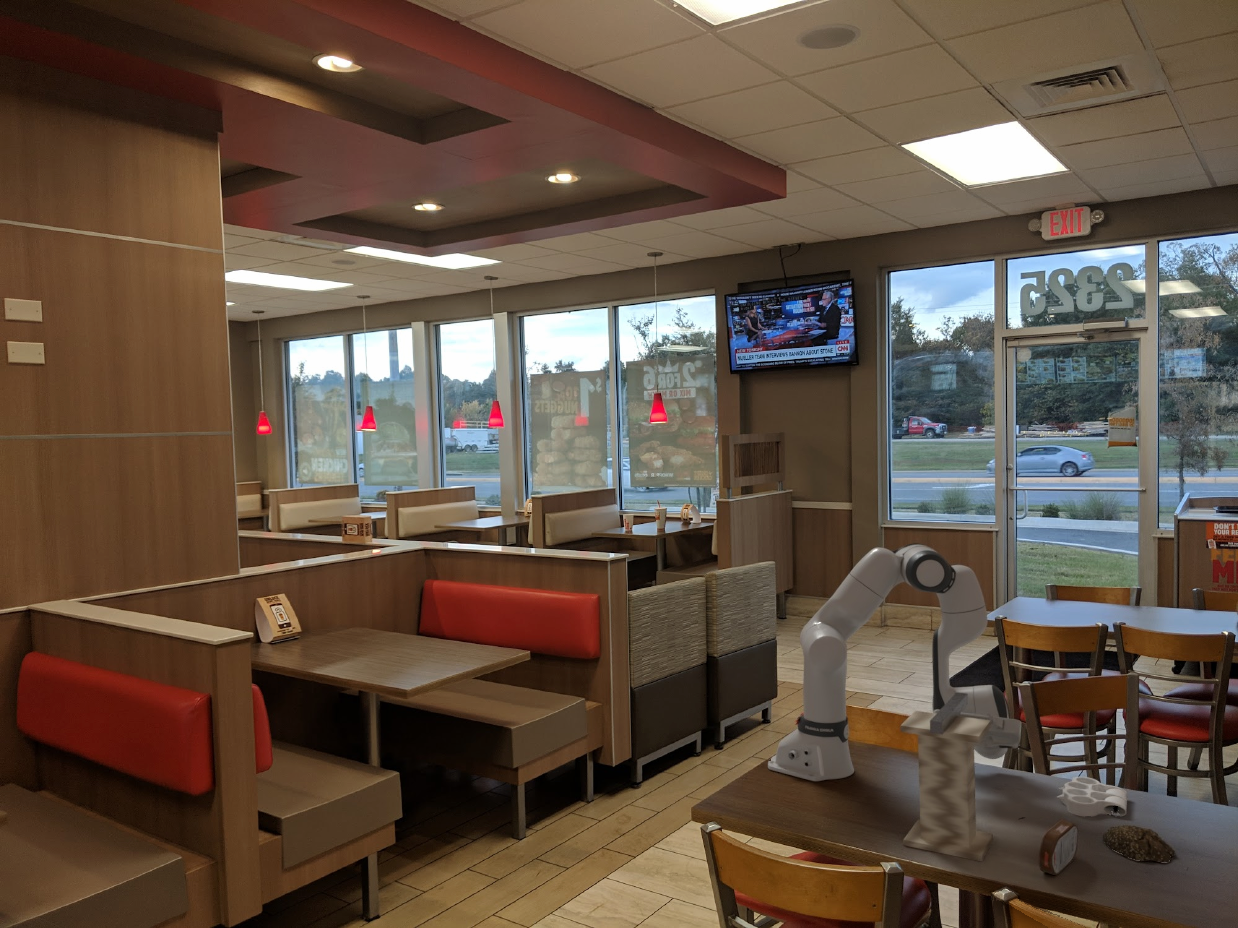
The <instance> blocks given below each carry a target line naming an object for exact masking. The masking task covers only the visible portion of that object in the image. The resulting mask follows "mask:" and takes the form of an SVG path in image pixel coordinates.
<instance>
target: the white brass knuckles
mask: <svg viewBox="0 0 1238 928" xmlns="http://www.w3.org/2000/svg"><path fill="white" fill-rule="evenodd" d="M1058 790H1059V791H1061V792H1062V793H1061V794H1060V795H1057V796H1056V798H1057V799H1059V800H1060V801H1062V803H1063V804H1064V806H1066V807H1067V812H1069V813H1071V814H1072V815H1075V816H1079V817H1085V816H1091V817H1096V816H1098V815H1107V814H1109V816H1111V814H1112V812H1111V811H1114V812H1115V809H1113V808H1115V806H1118V807H1117V810H1119V811H1118V813H1119V814H1120V815H1117V816H1120V817H1123V816H1126V815H1127V806H1128V792H1127V791H1126V790H1125V789H1124V788H1121V787H1118V786H1114V785H1111V784H1104V783H1102V782H1100V781H1098V780H1097V779H1095V778H1091V777H1088V776H1074V777H1071V781H1067V782H1065V783H1064V784H1063V787H1058ZM1113 806H1114V807H1113ZM1114 812H1113V814H1114ZM1117 816H1116V817H1117Z"/></svg>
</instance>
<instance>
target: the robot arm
mask: <svg viewBox="0 0 1238 928" xmlns="http://www.w3.org/2000/svg"><path fill="white" fill-rule="evenodd" d="M901 583H906V584H907V585H909V586H910V587H912V588H914V589H915V590H917V591H920V592H923V593H934V594H936V596H937V598H938V601H939V608H940V613H941V622H940V626H939V627H937V628H936V629H935V630H934V632H933V636H932V641H931V643H932V646H931V647H932V648H931V649H932V650H931V651H932V653H931V654H932V702H931V710H932V713H938V712H939V711H940V709H941V708H942V707H943V706H944V705H945V704H946V703H947V702H948V701H949V700H950V699H951V698H952V697H953V695H954V694H955V693H956V692H958V693H967V694H968V705H967V706H966V707H965V709H964V710H963V711H962V712H961V713H960V714H959V716H960V717H968V718H976V719H983V720H991V727H990V728H989V730H988V731H987V733H986V734H985V735H984V737H983V738H982V740H981V741H980V742H979V743H974V752H976V753H977V754H979V756H981V757H983V758H985V759H989V760H996V759H1000V758H1002V757H1004V756H1005V755H1006V754H1007V751H1008V749H1017V748H1019V743H1020V742H1021V735H1022V721H1021V720H1019V719H1016V718H1011V715H1010V707H1009V705H1008V704H1009V703H1008V701H1007V699H1006V697H1005V695H1004V692H1002V690H1001V689H999V687H997V686H996V685H994V684H987V685H986V684H984V685H974V686H961V687H960V686H959V687H953V686H951V684H950V656H951V654H952V653H954V652H955V651H956V650H958V649H960V648H962V647H964V646H966V645H969V644H970V643H973V642H974V641H976V640H977V639H978V638H980V637H981V635H983V633H984V632H985V631H986V629H987V626H988V623H989V622H988V612H987V607H986V602H985V598H984V597H985V596H984V594H983V590H982V589H981V585H980V582H979V580H978V577H977V575H976V573H975V571H973V569H972V568H970V567H969V566H966V565H963V564H955V565H954V564H953V565H951V564H950V563H949V562H948V561H947V560H946V558H945V557H944V556H942V554H940V553H939V552H938V551H936V550H935V549H934V548H932V547H930V546H928V545H925V544H922V543H918V542H917V543H916V542H915V543H909V544H906V545H903V546H901V547H899V548H897V549H895V550H890V549H888V548H885V547H874V548H872V549H870V550H869V551H868V552H867V553H866V554H865V555H864V556H863V557H862V558H861V559H860V560H859V561H858V562H857V563H856V564H855V566H854V567H853V568H852V570H851V571H850V572H849V573H848V575H847V576H846V577H845V578H844V580H843V581H842V582H841V584H840V585H839V586H838V587H837V588H836V590H835V591H834V593H833V594H832V595H831V596H830V598H829V599H828V600H827V601H826V602H825V603H824V604H823V605H822V606H821V607H820V608H819V609H818V610H817V612H816V613H815V614H814V615H813V616H812V617H811V618H810V620H809V621H808V622H806V624H805V625H804V626H803V627H802V630H801V631H800V636H799V642H800V646H801V650H802V654H803V682H802V696H803V697H802V699H803V700H802V703H803V705H802V706H803V711H802V712H801V713H800V714H799V715H800V716H798V717H797V718H796V720H795V721H794V722H795V724H794V725H795V726H796V725H797V728H796V729H794V730H793V731H791V732H790V733H789V734H787V735H786V736H785V737H784V738H782V739H781V740H780V741H779V743H778V745H777V749H776V753H775V755H773V756H772V757H771V758H770V759H771V761H769V760H768V762H767V768H768V770H770V771H774V772H777V773H778V772H779V773H781V774H784V775H785V774H786V775H790V776H793V777H796V778H801V779H805V780H808V781H811V782H821V781H825V780H837V779H838V780H839V779H843V778H847V777H849V776H850V777H851V775H853V774H854V772H855V768H854V765H853V763H852V762H853V761H852V759H851V753H850V748H849V741H848V740H849V736H850V728H849V727H850V725H849V718H848V716H847V702H846V701H847V700H846V699H847V698H846V697H847V694H846V692H847V691H846V690H847V689H846V688H847V686H846V685H847V673H848V671H847V670H848V646H847V642H848V640H849V639H850V638H852V636H853V635H854V634H855V633H857V631H858V630H859V629H860V628H862V626H864V625H866V624H867V623H868V622H869V620H870V619H871V618H872V617H873V615H874V614H875V612H876V611H877V609H878V608H879V607H880V606H881V604H882V603H883V602H884V601H885V599H886V598H887V597H888V595H889V594H890V592H891V591H892V589H893V588H895V587H896V586H898V585H899V584H901Z"/></svg>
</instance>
